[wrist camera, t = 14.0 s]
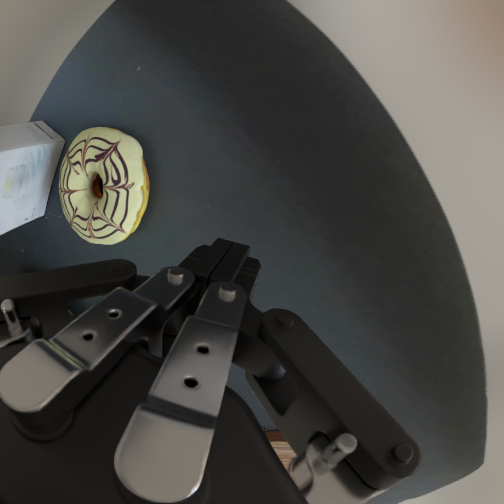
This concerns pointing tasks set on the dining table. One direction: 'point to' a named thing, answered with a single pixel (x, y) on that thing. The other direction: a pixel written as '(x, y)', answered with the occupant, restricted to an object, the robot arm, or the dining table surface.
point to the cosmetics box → (26, 171)
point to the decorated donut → (104, 185)
